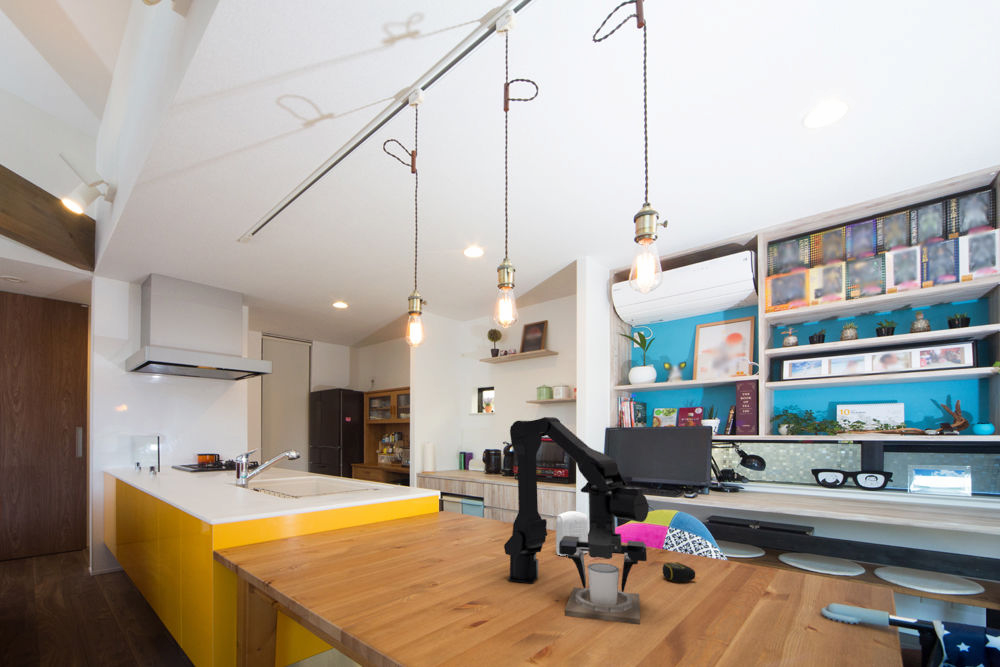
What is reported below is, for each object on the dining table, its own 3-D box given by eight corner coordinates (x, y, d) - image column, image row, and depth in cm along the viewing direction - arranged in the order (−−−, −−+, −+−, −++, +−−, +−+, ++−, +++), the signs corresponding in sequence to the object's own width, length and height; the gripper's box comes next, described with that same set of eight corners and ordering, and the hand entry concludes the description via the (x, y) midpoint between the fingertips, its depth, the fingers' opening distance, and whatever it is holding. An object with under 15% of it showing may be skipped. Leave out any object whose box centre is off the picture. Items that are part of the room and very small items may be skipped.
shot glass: (584, 595, 111) (584, 562, 112) (614, 595, 111) (613, 562, 112) (592, 607, 104) (592, 572, 105) (624, 607, 104) (623, 572, 105)
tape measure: (697, 583, 124) (696, 567, 125) (674, 585, 122) (673, 569, 123) (679, 575, 130) (679, 560, 131) (657, 577, 128) (657, 562, 129)
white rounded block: (582, 550, 153) (581, 509, 156) (590, 554, 150) (589, 511, 152) (553, 553, 149) (553, 511, 151) (561, 557, 145) (560, 513, 148)
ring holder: (564, 615, 102) (564, 605, 103) (573, 591, 116) (573, 582, 117) (639, 624, 98) (639, 613, 99) (639, 598, 112) (639, 589, 113)
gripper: (555, 519, 105) (555, 597, 103) (645, 525, 101) (648, 607, 98) (562, 510, 116) (563, 580, 113) (644, 515, 111) (647, 589, 108)
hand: (603, 589), depth 108 cm, fingers open, 8 cm apart
